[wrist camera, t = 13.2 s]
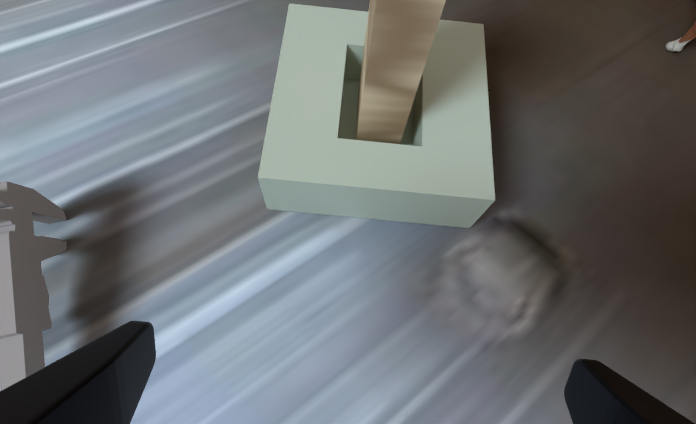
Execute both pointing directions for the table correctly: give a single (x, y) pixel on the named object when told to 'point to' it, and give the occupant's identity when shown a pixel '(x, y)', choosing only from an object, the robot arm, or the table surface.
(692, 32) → the bull figurine
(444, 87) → the end cap
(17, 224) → the caliper
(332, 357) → the table surface
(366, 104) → the slat
